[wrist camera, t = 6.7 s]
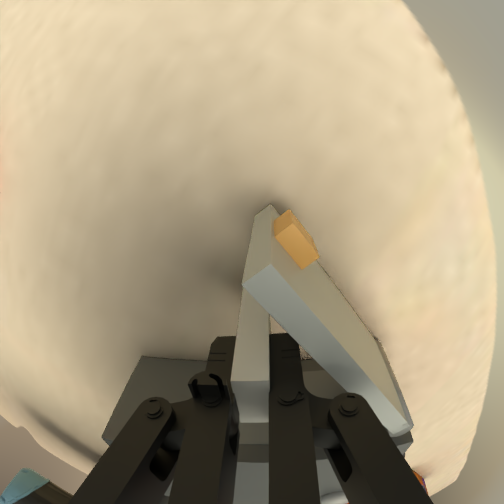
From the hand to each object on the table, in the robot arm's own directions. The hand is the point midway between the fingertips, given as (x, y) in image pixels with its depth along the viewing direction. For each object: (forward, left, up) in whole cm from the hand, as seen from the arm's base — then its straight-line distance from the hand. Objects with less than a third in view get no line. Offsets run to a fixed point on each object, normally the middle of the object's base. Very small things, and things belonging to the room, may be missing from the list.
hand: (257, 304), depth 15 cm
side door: (+4, 0, -1) cm, 5 cm away
